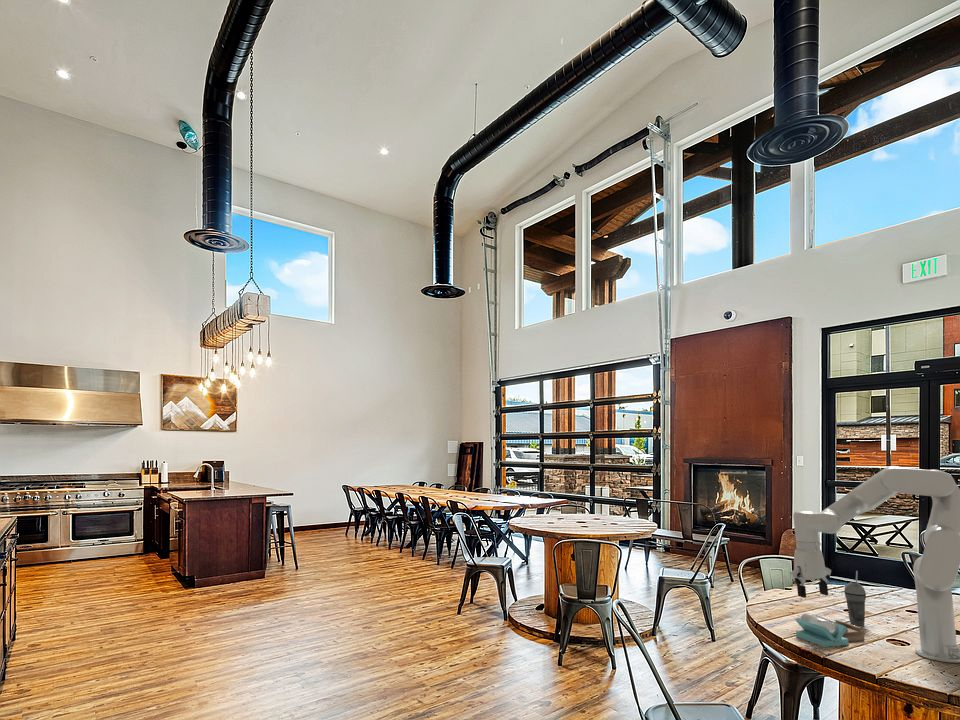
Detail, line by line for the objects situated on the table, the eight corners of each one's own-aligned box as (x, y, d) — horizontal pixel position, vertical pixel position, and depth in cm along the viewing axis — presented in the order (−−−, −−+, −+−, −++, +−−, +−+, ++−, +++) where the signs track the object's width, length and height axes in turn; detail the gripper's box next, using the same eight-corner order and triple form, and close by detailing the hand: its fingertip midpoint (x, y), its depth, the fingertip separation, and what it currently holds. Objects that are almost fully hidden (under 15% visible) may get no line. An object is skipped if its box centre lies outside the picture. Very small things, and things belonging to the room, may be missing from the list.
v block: (848, 645, 203) (847, 625, 204) (824, 647, 201) (822, 628, 201) (819, 634, 215) (818, 616, 216) (796, 636, 212) (795, 618, 213)
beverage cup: (847, 620, 232) (843, 567, 235) (869, 624, 227) (865, 570, 230) (844, 625, 226) (840, 570, 229) (867, 628, 222) (863, 573, 225)
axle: (838, 637, 204) (838, 623, 204) (828, 636, 202) (828, 622, 203) (810, 626, 215) (810, 613, 216) (800, 625, 214) (800, 612, 215)
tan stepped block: (864, 640, 209) (863, 627, 210) (844, 642, 207) (843, 629, 207) (840, 631, 219) (839, 619, 219) (820, 633, 216) (819, 621, 217)
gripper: (818, 543, 221) (824, 591, 219) (780, 546, 217) (785, 595, 214) (835, 546, 214) (841, 595, 212) (796, 549, 210) (801, 600, 207)
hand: (813, 595), depth 213 cm, fingers open, 9 cm apart
